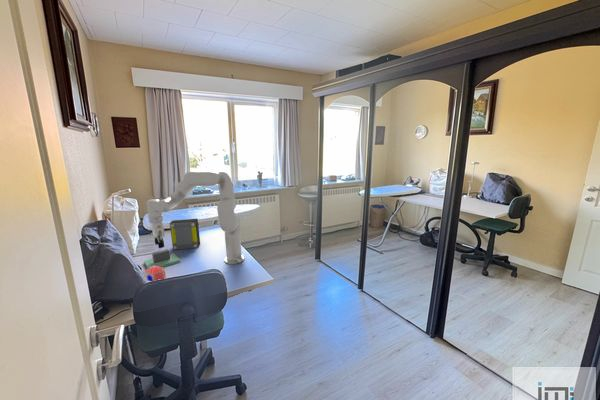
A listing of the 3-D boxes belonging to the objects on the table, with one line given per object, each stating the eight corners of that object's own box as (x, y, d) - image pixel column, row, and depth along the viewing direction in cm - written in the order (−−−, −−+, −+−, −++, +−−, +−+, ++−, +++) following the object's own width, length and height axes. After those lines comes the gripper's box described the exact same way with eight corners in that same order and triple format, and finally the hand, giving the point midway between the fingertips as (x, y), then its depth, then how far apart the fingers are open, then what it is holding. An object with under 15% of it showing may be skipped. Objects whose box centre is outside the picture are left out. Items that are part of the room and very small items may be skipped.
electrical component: (172, 250, 189) (168, 224, 184) (175, 245, 198) (172, 220, 194) (198, 248, 192) (195, 222, 188) (200, 243, 202) (197, 218, 197)
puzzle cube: (166, 280, 148) (164, 267, 146) (153, 287, 141) (151, 274, 139) (156, 277, 151) (154, 265, 149) (143, 284, 144) (141, 271, 142)
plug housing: (170, 259, 171) (169, 250, 170) (154, 263, 165) (153, 254, 164) (168, 257, 174) (167, 248, 172) (153, 261, 168) (151, 253, 166)
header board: (180, 261, 171) (179, 255, 170) (149, 271, 159) (148, 263, 158) (173, 255, 181) (172, 248, 180) (144, 263, 169) (142, 256, 168)
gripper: (166, 220, 159) (170, 248, 163) (158, 215, 172) (162, 240, 176) (152, 223, 155) (157, 251, 159) (145, 217, 167) (149, 243, 171)
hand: (159, 245), depth 167 cm, fingers open, 7 cm apart
